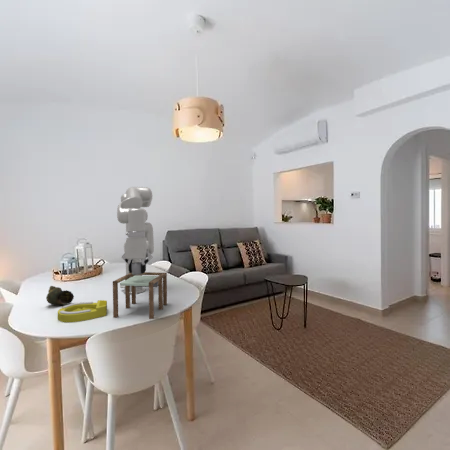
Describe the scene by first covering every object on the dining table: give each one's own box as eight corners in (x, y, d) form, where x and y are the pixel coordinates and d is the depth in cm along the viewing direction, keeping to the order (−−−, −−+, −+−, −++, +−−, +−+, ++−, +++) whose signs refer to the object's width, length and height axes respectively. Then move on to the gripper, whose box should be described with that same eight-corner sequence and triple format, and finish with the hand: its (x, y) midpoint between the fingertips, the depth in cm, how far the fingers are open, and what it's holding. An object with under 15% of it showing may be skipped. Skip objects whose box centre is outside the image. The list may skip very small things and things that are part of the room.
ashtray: (106, 318, 130) (105, 308, 130) (54, 325, 123) (53, 314, 122) (107, 307, 145) (107, 298, 145) (61, 312, 138) (61, 302, 138)
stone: (129, 274, 132) (129, 263, 132) (134, 272, 137) (134, 261, 137) (140, 274, 132) (140, 264, 131) (144, 272, 137) (144, 262, 136)
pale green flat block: (119, 293, 132) (119, 283, 132) (134, 285, 148) (133, 275, 148) (149, 294, 131) (149, 284, 130) (161, 285, 146) (161, 276, 146)
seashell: (54, 310, 140) (54, 290, 140) (43, 306, 146) (42, 287, 146) (75, 304, 149) (75, 285, 149) (63, 301, 155) (63, 282, 155)
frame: (113, 317, 131) (112, 281, 130) (133, 302, 151) (132, 271, 151) (152, 319, 129) (152, 282, 128) (167, 304, 149) (166, 272, 149)
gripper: (115, 235, 131) (116, 274, 132) (151, 235, 129) (151, 274, 130) (123, 233, 138) (123, 270, 139) (156, 234, 136) (157, 271, 137)
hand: (137, 272), depth 134 cm, fingers closed on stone, 5 cm apart
